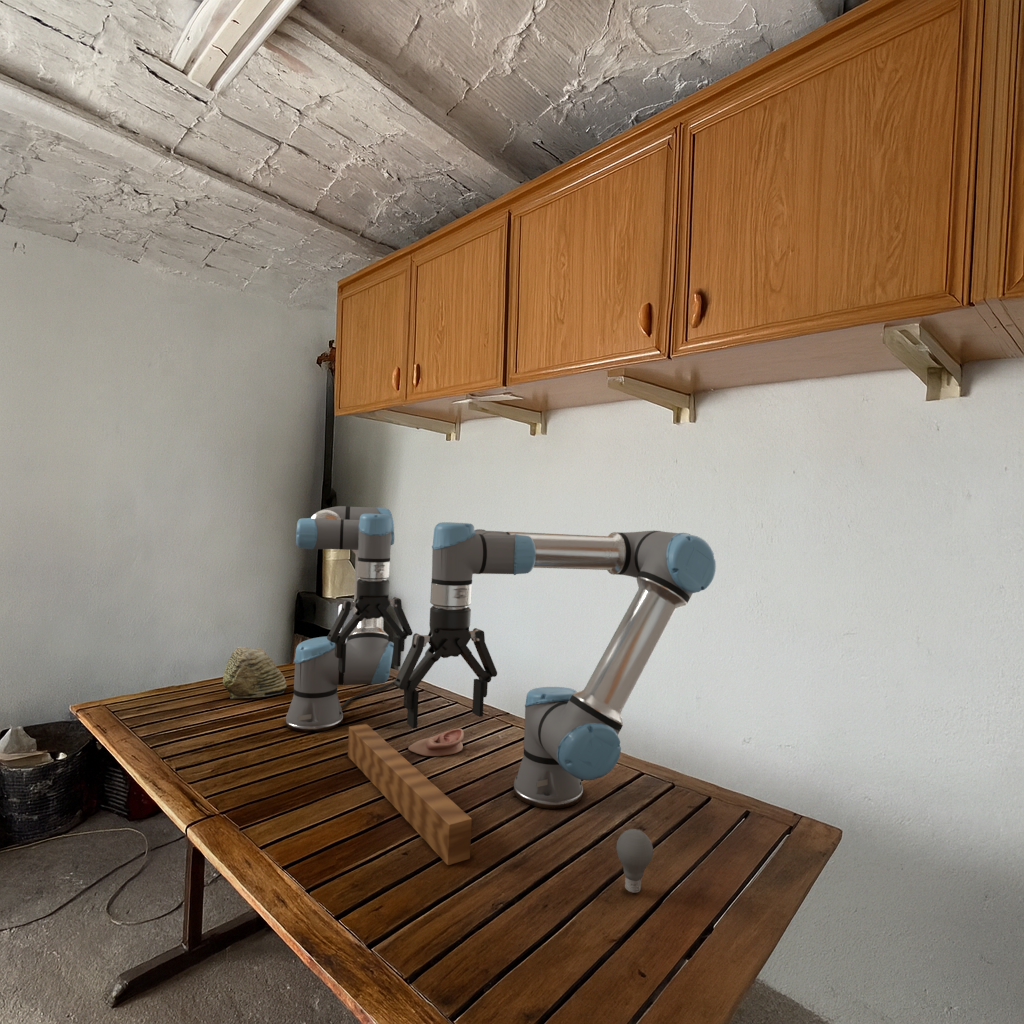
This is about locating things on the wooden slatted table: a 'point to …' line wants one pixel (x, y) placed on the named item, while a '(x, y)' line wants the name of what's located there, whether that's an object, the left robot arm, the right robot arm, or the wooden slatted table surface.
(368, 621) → the left robot arm
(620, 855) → the light bulb
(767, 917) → the wooden slatted table surface
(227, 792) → the wooden slatted table surface
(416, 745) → the anatomical model
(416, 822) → the bar
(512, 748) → the wooden slatted table surface
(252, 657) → the fossil
